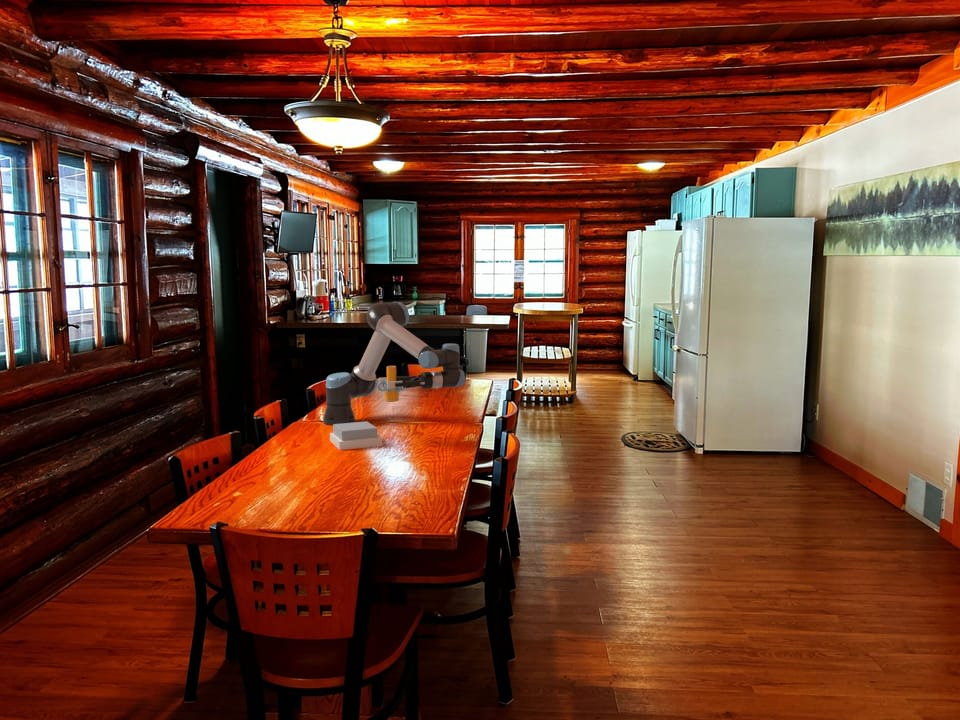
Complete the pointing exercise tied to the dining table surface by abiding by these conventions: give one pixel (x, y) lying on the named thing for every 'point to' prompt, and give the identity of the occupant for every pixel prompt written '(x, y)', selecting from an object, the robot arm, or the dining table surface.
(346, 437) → the tower top
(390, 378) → the yellow post with rings
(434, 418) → the dining table surface
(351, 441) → the tower base
